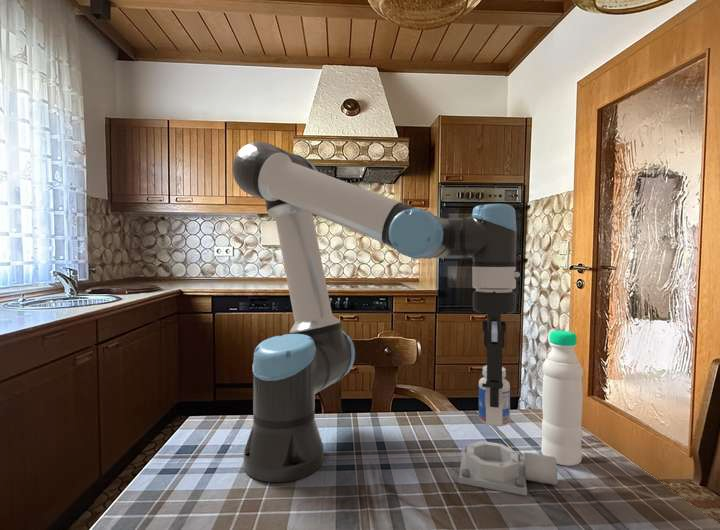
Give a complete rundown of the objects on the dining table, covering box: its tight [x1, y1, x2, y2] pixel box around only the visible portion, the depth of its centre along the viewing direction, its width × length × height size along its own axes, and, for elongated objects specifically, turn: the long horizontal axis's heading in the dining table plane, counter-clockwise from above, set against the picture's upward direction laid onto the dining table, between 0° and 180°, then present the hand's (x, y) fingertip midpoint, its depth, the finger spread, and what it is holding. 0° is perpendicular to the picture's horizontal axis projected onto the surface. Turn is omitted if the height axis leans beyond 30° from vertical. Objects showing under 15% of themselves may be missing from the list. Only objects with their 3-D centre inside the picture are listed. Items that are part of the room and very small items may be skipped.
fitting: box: [458, 440, 558, 497], centre depth 70 cm, size 16×11×4 cm
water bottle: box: [540, 330, 584, 467], centre depth 76 cm, size 7×7×25 cm
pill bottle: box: [478, 364, 511, 427], centre depth 70 cm, size 6×5×10 cm
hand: (493, 416), depth 70 cm, fingers closed on pill bottle, 5 cm apart
